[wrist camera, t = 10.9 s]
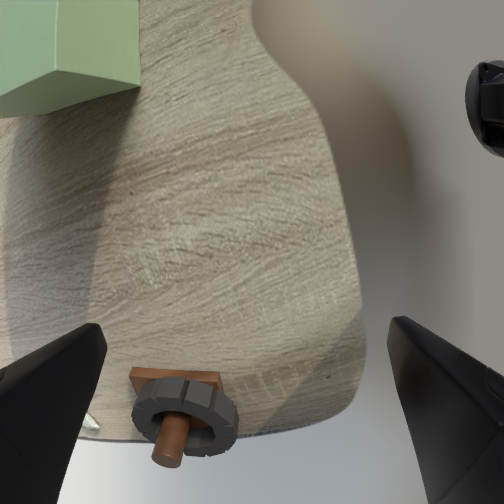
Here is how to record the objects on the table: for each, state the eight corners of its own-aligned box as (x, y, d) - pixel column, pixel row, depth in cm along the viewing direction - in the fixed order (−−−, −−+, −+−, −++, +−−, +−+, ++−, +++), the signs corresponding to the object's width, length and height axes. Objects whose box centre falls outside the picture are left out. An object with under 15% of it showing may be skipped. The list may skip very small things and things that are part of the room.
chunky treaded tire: (228, 376, 24) (225, 398, 22) (244, 439, 27) (242, 458, 25) (125, 374, 25) (116, 393, 23) (157, 434, 28) (151, 452, 26)
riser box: (138, -6, 14) (66, -60, 6) (142, 86, 17) (55, 71, 9) (44, 30, 15) (-42, 13, 7) (46, 114, 18) (-48, 126, 9)
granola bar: (102, 426, 31) (99, 432, 30) (90, 426, 31) (87, 432, 30) (66, 387, 28) (62, 393, 27) (55, 388, 29) (51, 394, 28)
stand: (219, 371, 25) (205, 440, 19) (230, 426, 28) (222, 486, 22) (132, 366, 26) (103, 426, 19) (155, 420, 29) (137, 474, 22)
